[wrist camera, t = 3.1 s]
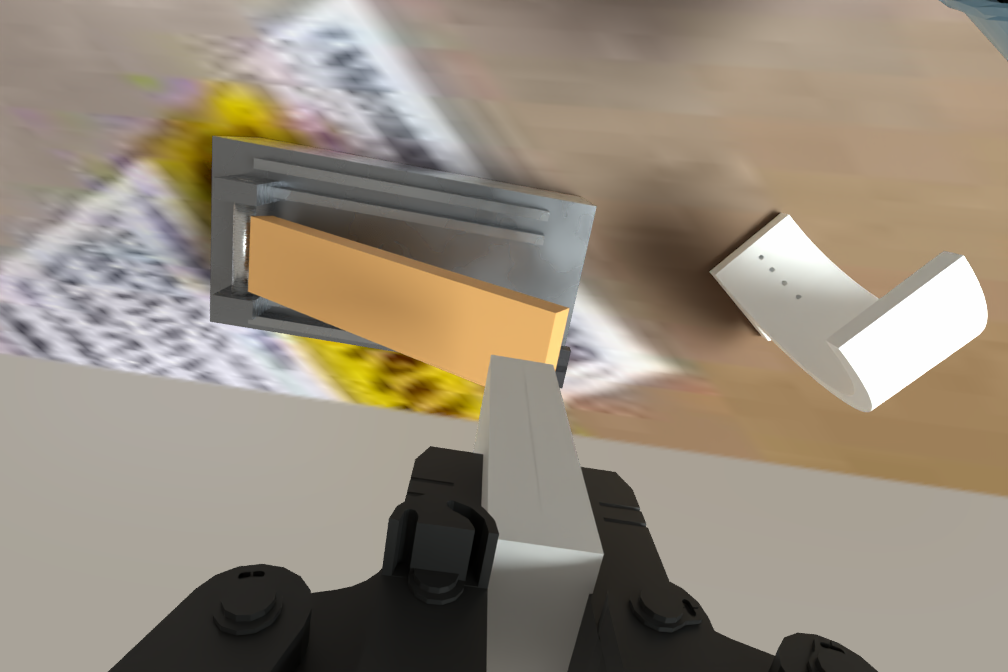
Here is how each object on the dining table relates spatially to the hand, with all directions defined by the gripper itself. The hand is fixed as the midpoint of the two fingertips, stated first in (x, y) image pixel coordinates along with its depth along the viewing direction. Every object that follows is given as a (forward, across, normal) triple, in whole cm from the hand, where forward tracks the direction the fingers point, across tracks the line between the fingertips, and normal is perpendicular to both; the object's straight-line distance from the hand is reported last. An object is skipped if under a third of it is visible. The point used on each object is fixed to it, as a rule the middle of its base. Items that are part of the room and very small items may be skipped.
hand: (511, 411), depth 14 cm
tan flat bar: (+7, -4, 0) cm, 8 cm away
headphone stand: (+17, +15, +2) cm, 23 cm away
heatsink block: (+17, -5, 0) cm, 18 cm away
